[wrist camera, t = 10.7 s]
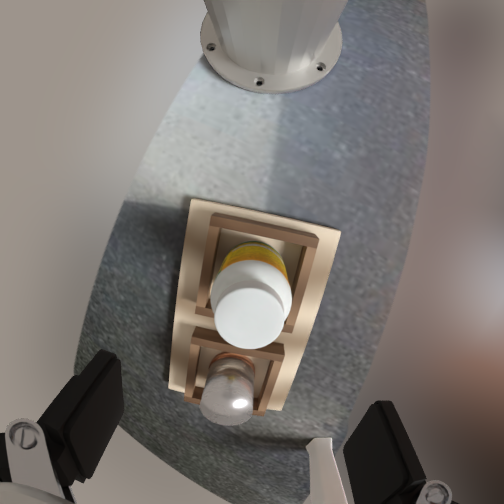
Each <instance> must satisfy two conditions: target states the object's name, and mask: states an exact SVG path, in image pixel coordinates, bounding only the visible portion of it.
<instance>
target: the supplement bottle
mask: <svg viewBox="0 0 504 504" xmlns="http://www.w3.org/2000/svg"><path fill="white" fill-rule="evenodd" d="M210 299H211V307H212V310H213V313H214V322H215V326H216V329H217V331H218V332H219V334H220V335H221V337H222V338H223V339H224V340H225V341H227V342H228V343H230V344H231V345H233V346H236V347H239V348H243V349H257V348H261V347H264V346H266V345H268V344H270V343H271V342H273V341H274V340H275V339H276V338H277V337H278V336H279V334H280V333H281V331H282V329H283V325H284V321H285V320H286V318H287V316H288V314H289V312H290V309H291V304H292V294H291V288H290V285H289V281H288V277H287V273H286V269H285V265H284V262H283V259H282V257H281V255H280V254H279V253H278V252H277V250H276V249H275V248H273V247H272V246H271V245H269V244H267V243H265V242H262V241H257V240H250V241H244V242H242V243H239V244H238V245H236V246H235V247H233V248H232V249H231V250H230V251H229V253H228V254H227V255H226V257H225V259H224V261H223V263H222V266H221V268H220V270H219V272H218V274H217V277H216V279H215V281H214V283H213V286H212V290H211V297H210Z"/></svg>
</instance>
